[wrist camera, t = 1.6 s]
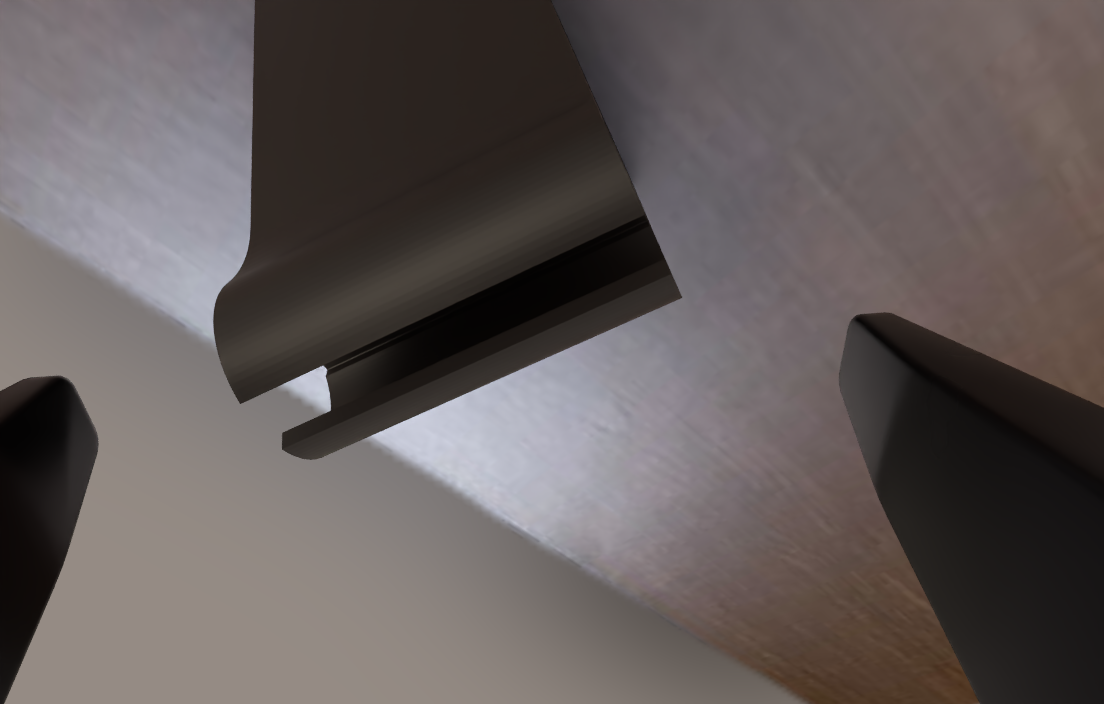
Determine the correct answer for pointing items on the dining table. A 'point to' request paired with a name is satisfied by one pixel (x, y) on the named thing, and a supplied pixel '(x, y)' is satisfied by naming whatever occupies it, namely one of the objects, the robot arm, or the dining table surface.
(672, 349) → the dining table surface
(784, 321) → the dining table surface
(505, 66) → the phone stand
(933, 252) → the dining table surface
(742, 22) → the dining table surface
